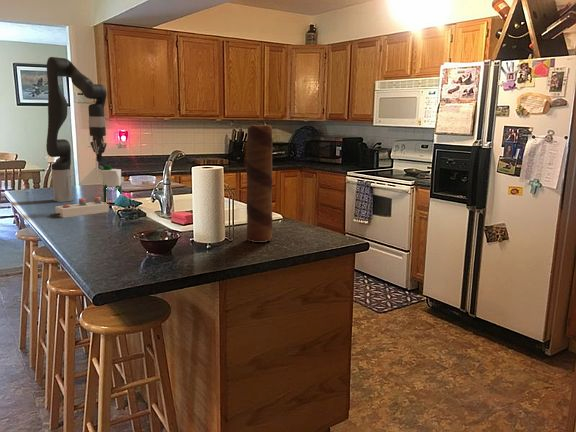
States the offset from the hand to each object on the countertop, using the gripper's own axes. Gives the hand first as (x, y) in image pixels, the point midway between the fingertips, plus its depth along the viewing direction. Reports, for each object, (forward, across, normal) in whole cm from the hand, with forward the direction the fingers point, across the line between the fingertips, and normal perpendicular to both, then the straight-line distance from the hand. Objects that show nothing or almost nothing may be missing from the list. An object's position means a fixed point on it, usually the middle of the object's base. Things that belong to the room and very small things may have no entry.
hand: (99, 161), depth 238 cm
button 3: (+20, +5, -4) cm, 21 cm away
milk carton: (+24, -13, +12) cm, 30 cm away
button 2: (+20, +5, -12) cm, 23 cm away
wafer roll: (+25, +99, +17) cm, 103 cm away
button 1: (+22, +4, -19) cm, 29 cm away
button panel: (+24, +5, -14) cm, 28 cm away
